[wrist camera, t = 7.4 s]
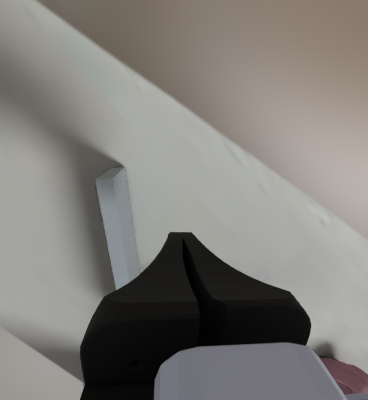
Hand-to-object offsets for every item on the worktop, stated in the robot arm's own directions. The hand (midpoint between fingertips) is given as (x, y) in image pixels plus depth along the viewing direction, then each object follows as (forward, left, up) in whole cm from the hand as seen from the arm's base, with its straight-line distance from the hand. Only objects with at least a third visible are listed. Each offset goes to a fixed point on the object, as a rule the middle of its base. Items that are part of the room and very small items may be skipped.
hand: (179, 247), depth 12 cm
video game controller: (+13, -36, -10) cm, 39 cm away
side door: (-6, -3, -9) cm, 12 cm away
